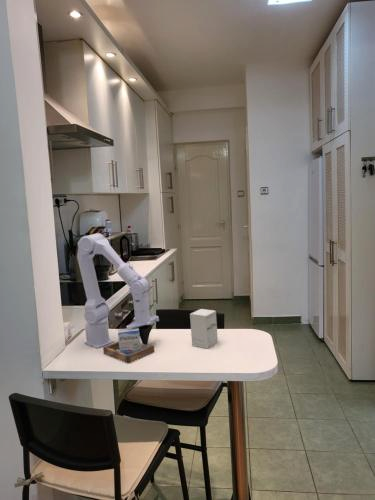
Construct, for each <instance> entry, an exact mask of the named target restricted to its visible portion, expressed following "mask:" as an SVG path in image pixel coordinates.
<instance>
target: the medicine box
mask: <svg viewBox="0 0 375 500" xmlns="http://www.w3.org/2000/svg"><path fill="white" fill-rule="evenodd" d="M117 337H118V339H117V341H119V349H118V350H119V352H121V353H124V354H127V355H129V354H131V353H134V352H137V351H139V350H141V349H142V345H141V338H140V334H139V327H137V328H134V329H132V330H130V331H129V330H127V329H126V328H121V329H117Z"/></svg>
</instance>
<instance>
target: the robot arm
mask: <svg viewBox="0 0 375 500" xmlns="http://www.w3.org/2000/svg"><path fill="white" fill-rule="evenodd" d="M77 247H78V248H77V249H78V250H77V254H76V255H77V256H76V259H77V262H78V266H79V270H80V275H81V279H82V284H83V288H84V292H85V297H86V301H85V304H84V313H83V317H84V320H85V321H86V324H85V326H84V328H85V329H84V330H85V338H86V341H84V344H85V345H88V346H92V347H94V348H96V349H98V348H99V349H100V348H101V347H102V348H103V347H105V346H108V345H111V344H113V343H115V341H114V340H113V339H110V334H109V324H108V316H109V315H110V308H109V305H108V304H107V301H106V299H105V298H104V297H102V295H101V290H100V286H99V283H98V278H97V273H96V269H95V264H94V260H93V258H94V257H95V255H102V256H103V257H105V258H106V259H107V260H108V261H109V263H111V264H112V265H113V266H114V267H115V268H116V270H117V274H118V276H119V277H120V279H122V280H123V281H124V283H125V284H126V285H127V286H128V287H129V288H128V290H129V293H130V294H131V297H132V300H133V301H132V302H133V310H134V311H133V313H134V321H133V322H131V323H129V324H128V325H126V328H125V329H127V330H129V331H130V330H132V329H134V328H137V327H139V334H140V342H141V344H142V345H148V343H149V340H150V339H149V338H150V335H151V331H152V329H153V325H152V323H155V322H160V318H159V317H160V316H158V315H151V313H150V312H151V311H150V304H149V303H150V300H149V294H148V293H149V292H148V290H149V289H150V282H149V280H148V278H146V277H144V276H142V275H141V274H139V273H138V272H137V271H136V269H134V266H133V265H132V264H130V263H127V262H124V261H123V260H122V258H121V257H120V256H119V255H118V253H117V252H116V251H115V249H113V246H111V244H110V243H109V240H108V238H106V237H105V236H104V234H102V233H100V232H96V233H93V234H89V235H83V236H82V237H80V239H79V240H78V242H77Z"/></svg>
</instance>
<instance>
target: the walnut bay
mask: <svg viewBox="0 0 375 500" xmlns="http://www.w3.org/2000/svg"><path fill="white" fill-rule="evenodd" d="M117 349H118V350H119V351H118V350H117ZM102 350H103V354H104V355H105V356H109V357H112V358H113V357H114V358H113V359H116V360H118V359H120V360H119V361H121V360H122V361H121V362H123V361H125V362H124V363H126V362H127V364H128V363H129V364H131V363H133V362H135V360H136V361H138V360H140V359H143V358H144V357H147V356H149V355H151V354H154V353H155V345H153V344H151V345H148V346H146V347H144V348H141V350H139V351H137V352H134V353H132V354H124V353H121V352H120V349H119V340H117V341H116V342H112V343H110V344H107V345H104V346H102ZM153 352H154V353H153ZM137 359H138V360H137ZM132 361H133V362H132ZM130 362H131V363H130Z"/></svg>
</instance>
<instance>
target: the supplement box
mask: <svg viewBox="0 0 375 500" xmlns="http://www.w3.org/2000/svg"><path fill="white" fill-rule="evenodd" d="M189 319H190V322H189V323H190V332H191V333H190V336H191V345H192V346H194V347H198V348H203V349H209V348H210V347H211V346H213V345H215V344H217V343H218V342H219V341H218V338H219V337H218V325H217V324H218V323H217V311H216V310H213V309H205V308H199V309H198V310H195V311H193V312H191V313H189Z"/></svg>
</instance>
